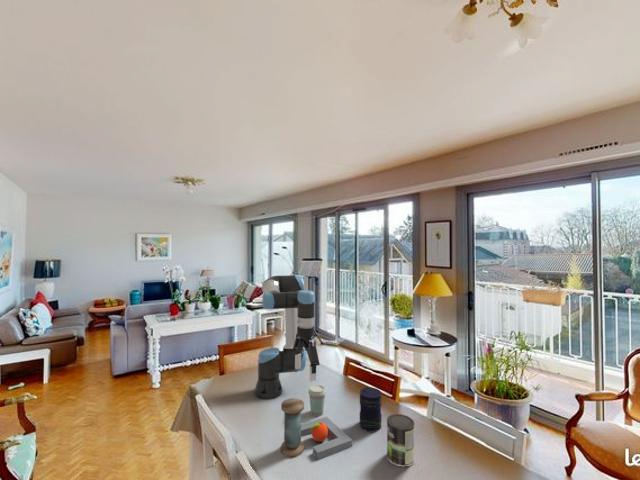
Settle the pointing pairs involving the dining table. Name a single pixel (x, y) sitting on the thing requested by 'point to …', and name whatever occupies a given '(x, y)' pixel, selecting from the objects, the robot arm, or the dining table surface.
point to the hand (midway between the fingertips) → (305, 374)
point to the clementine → (319, 431)
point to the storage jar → (370, 409)
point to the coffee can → (400, 440)
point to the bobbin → (292, 427)
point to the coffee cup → (317, 399)
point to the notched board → (330, 447)
